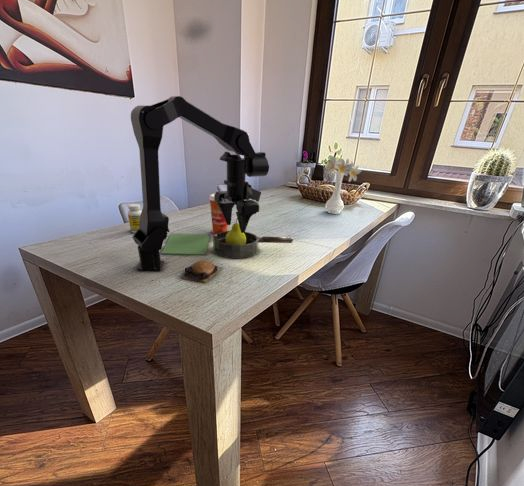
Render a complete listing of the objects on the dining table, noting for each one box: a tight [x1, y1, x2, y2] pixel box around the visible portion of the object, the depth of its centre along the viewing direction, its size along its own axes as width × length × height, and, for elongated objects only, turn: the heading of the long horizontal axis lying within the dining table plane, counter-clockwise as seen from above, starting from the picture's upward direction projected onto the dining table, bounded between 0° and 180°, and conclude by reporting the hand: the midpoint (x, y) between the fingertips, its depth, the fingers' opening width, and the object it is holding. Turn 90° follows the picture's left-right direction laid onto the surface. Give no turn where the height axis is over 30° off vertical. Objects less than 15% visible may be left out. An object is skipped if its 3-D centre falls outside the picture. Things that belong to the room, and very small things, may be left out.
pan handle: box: [256, 236, 294, 244], centre depth 105 cm, size 13×2×2 cm, turn 94°
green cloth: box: [160, 233, 210, 256], centre depth 109 cm, size 20×14×1 cm
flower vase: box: [324, 156, 362, 215], centre depth 152 cm, size 13×18×25 cm
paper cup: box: [208, 193, 229, 235], centre depth 118 cm, size 8×8×14 cm
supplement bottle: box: [127, 203, 142, 234], centre depth 115 cm, size 5×5×10 cm
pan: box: [212, 230, 259, 259], centre depth 105 cm, size 15×15×4 cm
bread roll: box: [181, 259, 221, 283], centre depth 89 cm, size 11×8×4 cm
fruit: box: [226, 217, 246, 245], centre depth 103 cm, size 7×7×12 cm
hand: (235, 228), depth 102 cm, fingers open, 9 cm apart
